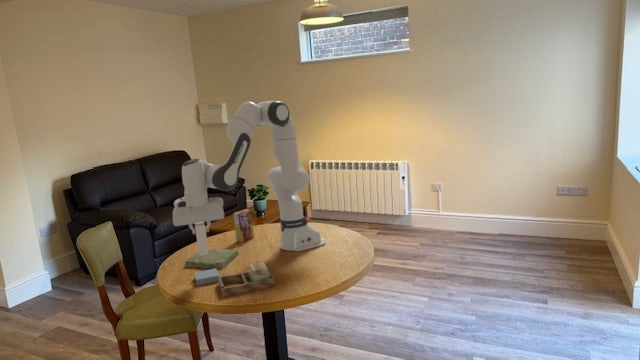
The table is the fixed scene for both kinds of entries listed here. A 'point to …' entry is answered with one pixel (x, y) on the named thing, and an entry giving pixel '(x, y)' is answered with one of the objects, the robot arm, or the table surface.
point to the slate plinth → (206, 276)
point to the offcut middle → (258, 277)
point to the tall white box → (201, 238)
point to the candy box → (243, 225)
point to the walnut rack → (245, 286)
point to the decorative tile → (212, 259)
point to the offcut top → (258, 269)
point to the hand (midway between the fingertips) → (200, 232)
